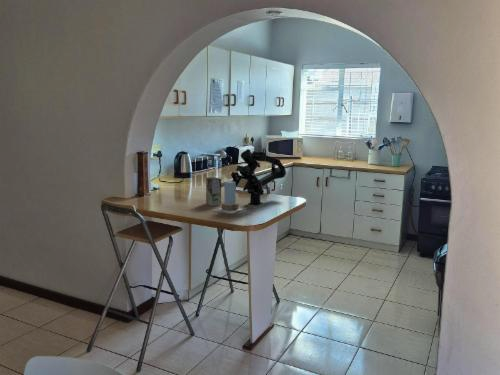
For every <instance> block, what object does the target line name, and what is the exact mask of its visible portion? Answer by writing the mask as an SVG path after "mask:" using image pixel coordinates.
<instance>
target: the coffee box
mask: <svg viewBox="0 0 500 375" xmlns="http://www.w3.org/2000/svg"><path fill="white" fill-rule="evenodd" d="M205 191H206V192H205V196H206V200H205V202H206V204H207V205H210V206H212V207H215V206H222V179H221V178H220V177H216V176H212V177H211V176H209V177H205Z"/></svg>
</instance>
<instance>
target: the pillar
mask: <svg viewBox="0 0 500 375" xmlns="http://www.w3.org/2000/svg"><path fill="white" fill-rule="evenodd" d="M223 183H224V189H223V190H224V192H223V193H224V198H223V199H224V203H223V204H227V205H233V204H237V202H236V199H237V198H236V187H237V185H236V182H234V181H233V180H228V181H224V182H223Z"/></svg>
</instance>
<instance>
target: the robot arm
mask: <svg viewBox="0 0 500 375" xmlns="http://www.w3.org/2000/svg"><path fill="white" fill-rule="evenodd" d="M240 158H241V159H242V161H243V162H244V163H245V164H247V165H244V166H243V165H237V167H236V169H235V170H236V171H233V172H231V174H230V176H231V178H232V181H234V182H236V186H237V185H238V184H240V182H241V180H246V183H245V185H244V187H243V189H242V191H243V192H245V191H247V194H250V199H249V200H250V202H248V204H249V205H255V206H258V205H261V204H263V202H262V201H261V196H263V195H264V193H265V190H264V189H263V187H264V186H266V185H268V184H269V183H271V182H272V181H274V180H276V179H277V180H278V179H283V178H285V177H286V175H287V171H286V168H285V166H284V164H283V163H282V162H281V160H280V158H275V157H273V156H269V155H267V153H265V152H263V151H257V150H253V151H251V150H250V149H248V148H247V149H246V150H244V151H243V152H241V154H240ZM260 162H264V163H269V164H270V165H271V167H270V168H271V169H270V170H271V172H270V173H269V174H266V175H265V176H263V177H262V178H258V177H257V175H255V174H256V173H255V171H256V170H257V168H261V165H260ZM276 166H277V167H276Z"/></svg>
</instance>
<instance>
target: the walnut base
mask: <svg viewBox="0 0 500 375" xmlns="http://www.w3.org/2000/svg"><path fill="white" fill-rule="evenodd" d="M244 210H247V207H242V206H239V203H236V204H233V205H227V204H224V203H221V207H219V208H216V209H214V210H213V212H216V213H222V214H228V215H232V214H235V213H237V212H241V211H244Z"/></svg>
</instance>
